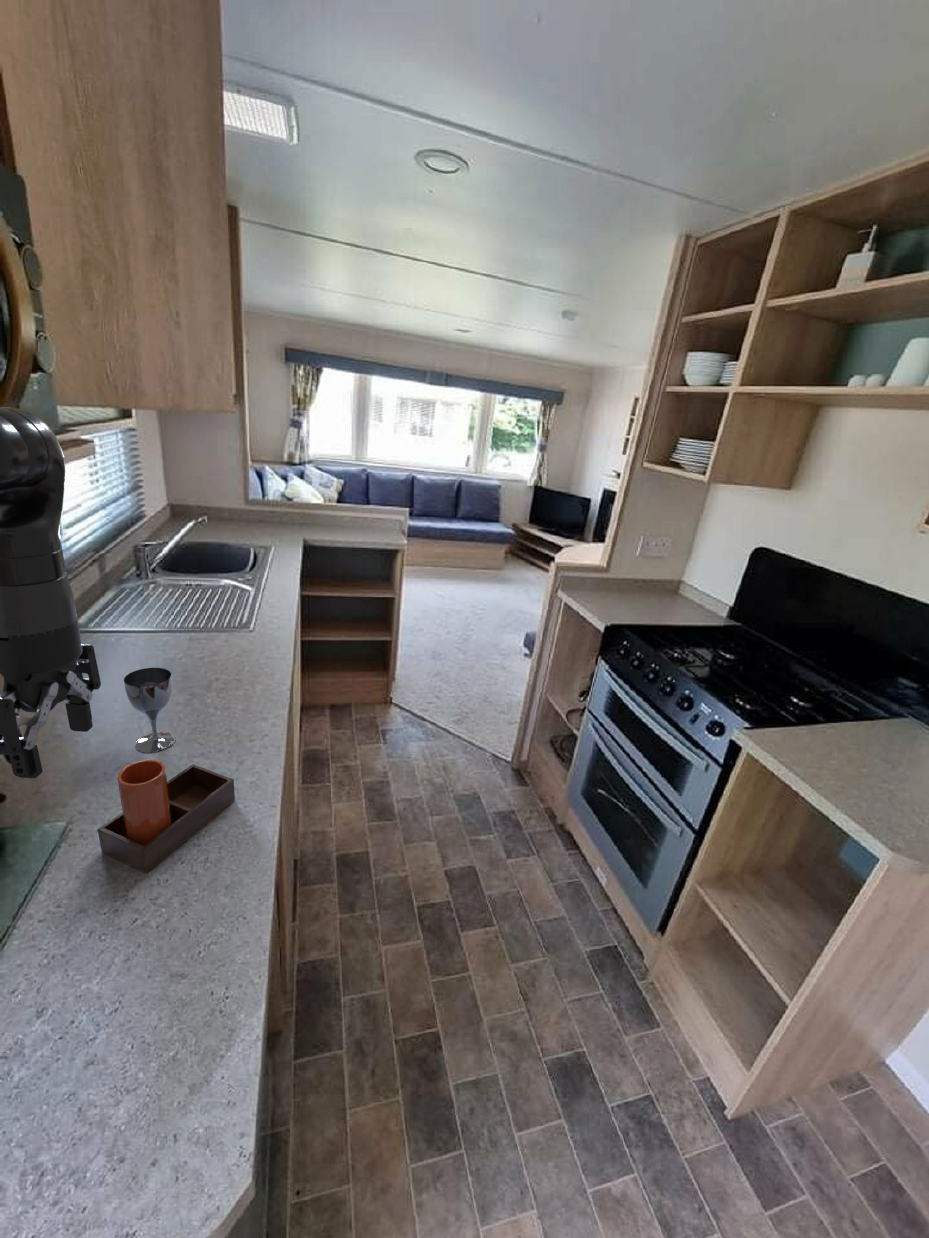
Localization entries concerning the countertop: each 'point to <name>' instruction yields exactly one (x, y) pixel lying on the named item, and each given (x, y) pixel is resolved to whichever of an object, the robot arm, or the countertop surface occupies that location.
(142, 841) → the tumbler
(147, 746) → the wine glass
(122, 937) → the countertop surface
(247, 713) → the countertop surface
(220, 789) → the caddy
